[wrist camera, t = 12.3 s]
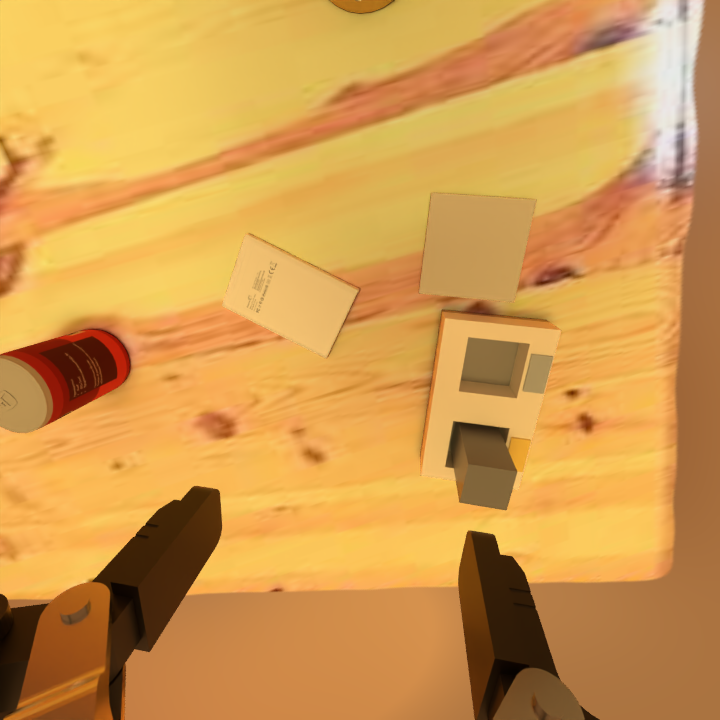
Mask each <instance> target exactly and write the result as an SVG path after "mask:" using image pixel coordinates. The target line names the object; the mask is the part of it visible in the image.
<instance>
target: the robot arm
mask: <svg viewBox="0 0 720 720" xmlns="http://www.w3.org/2000/svg"><path fill="white" fill-rule="evenodd" d="M330 1H331V2H332V3H334V4H335V5H336V6H337V7H340V8H342V9H344V10H346V11H349V12H356V13H365V12H373V11H375V10H378V9H380V8H383V7H385V6H386V5H388V4H389V3H390V2H392V1H393V0H330ZM221 531H222V517H221V503H220V492H219V490H218V489H213V488H206V487H200V486H194V487H192V488H191V489H190V490H189V492H188V493H187V494H186V495H185V496H184V497H183V498H182V500H181V501H179V500H173V501H172V502H170V503H168V504H167V505H165V506H164V507H162V508H160V509H159V510H158V511H157V512H156V513H155V514H154V515H153V516H152V517H151V518H150V519H149V520H148V521H147V523H146V525H145V526H143V527H142V528H141V529H140V530H139V531H138V532H137V533H136V536H135V537H133V538H132V539H131V540H130V541H129V542H128V543H127V544H126V545H125V546H124V548H123V549H122V550H121V551H120V552H119V553H118V554H117V555H116V556H115V557H114V558H113V559H112V561H111V562H110V563H109V564H108V565H107V566H106V567H105V568H104V569H103V570H102V571H101V573H100V574H99V575H98V576H97V577H96V578H95V579H94V580H93V581H92V582H89V583H83V584H80V585H77V586H74V587H72V588H70V589H68V590H66V591H65V592H63V593H61V594H60V595H59V596H57V597H56V598H55V599H54V600H52V601H51V602H50V603H48V604H41V605H33V606H25V607H18V608H10V606H9V603H8V600H7V598H6V597H5V596H4V595H2V594H0V720H125V686H126V664H125V662H126V661H127V659H128V658H129V656H130V655H131V653H132V652H133V650H134V649H137V650H142V651H147V652H150V651H151V649H152V648H153V645H154V644H155V643H156V641H157V640H158V638H159V636H160V634H161V633H162V632H163V630H164V628H165V627H166V625H167V624H168V622H169V621H170V619H171V617H172V616H173V614H174V613H175V611H176V609H177V608H178V606H179V605H180V603H181V601H182V600H183V598H184V597H185V595H186V594H187V592H188V590H189V589H190V587H191V586H192V584H193V582H194V581H195V579H196V578H197V576H198V574H199V573H200V571H201V570H202V568H203V567H204V565H205V563H206V562H207V560H208V559H209V557H210V555H211V554H212V552H213V551H214V549H215V547H216V546H217V544H218V541H219V539H220V536H221ZM458 586H459V595H460V604H461V612H462V620H463V628H464V636H465V644H466V652H467V660H468V668H469V677H470V684H471V693H472V700H473V709H474V717H475V720H599V719H598V718H596V717H594V716H593V715H591V714H590V713H589V712H587V711H586V710H585V709H584V708H583V707H581V706H580V705H579V703H578V701H577V699H576V698H575V696H574V695H573V693H572V692H571V691H570V689H568V687H567V686H566V685H565V684H564V683H563V682H562V681H561V680H560V678H559V676H558V673H557V671H556V668H555V665H554V662H553V659H552V656H551V653H550V650H549V647H548V644H547V640H546V638H545V634H544V631H543V628H542V625H541V622H540V619H539V616H538V613H537V610H536V609H535V603H534V600H533V597H532V595H531V593H530V592H531V591H530V588H529V585H528V582H527V579H526V575H525V573H524V572H523V570H522V569H521V567H520V566H519V565H518V563H517V562H516V561H515V559H514V558H513V557H512V556H506V555H500V552H499V548H498V545H497V541H496V538H495V536H494V535H493V534H488V533H482V532H476V531H470V530H469V531H468V532H467V535H466V540H465V544H464V549H463V553H462V558H461V562H460V567H459V577H458Z"/></svg>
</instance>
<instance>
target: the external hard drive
mask: <svg viewBox="0 0 720 720" xmlns="http://www.w3.org/2000/svg"><path fill="white" fill-rule="evenodd" d="M359 290H360V289H359V288H357V287H355V286H353V285H351V284H349V283H347V282H345V281H343V280H341V279H339V278H337V277H335V276H333V275H331V274H329V273H327V272H325V271H323V270H321V269H319V268H317V267H315V266H313V265H311V264H309V263H307V262H305V261H303V260H301V259H299V258H297V257H295V256H293V255H291V254H289V253H287V252H285V251H283V250H281V249H279V248H277V247H275V246H273V245H271V244H269V243H267V242H265V241H263V240H261V239H259V238H258V237H256V236H254V235H251V234H246V235H245V237H244V239H243V242H242V245H241V248H240V252H239V255H238V258H237V261H236V264H235V267H234V270H233V273H232V276H231V279H230V282H229V285H228V288H227V291H226V294H225V297H224V300H223V304H222V306H223V307H224V308H226V309H228V310H230V311H232V312H234V313H236V314H238V315H240V316H242V317H244V318H246V319H248V320H250V321H252V322H254V323H256V324H258V325H260V326H262V327H264V328H266V329H268V330H270V331H272V332H274V333H276V334H278V335H280V336H282V337H284V338H286V339H288V340H290V341H292V342H294V343H296V344H298V345H300V346H302V347H304V348H306V349H308V350H310V351H312V352H314V353H316V354H318V355H320V356H322V357H324V358H327V357H328V356H329V353H330V351H331V349H332V347H333V345H334V343H335V341H336V338H337V336H338V334H339V332H340V330H341V328H342V326H343V324H344V321H345V319H346V317H347V315H348V313H349V311H350V309H351V307H352V305H353V302H354V300H355V298H356V296H357V294H358V292H359Z"/></svg>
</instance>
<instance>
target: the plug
mask: <svg viewBox="0 0 720 720" xmlns="http://www.w3.org/2000/svg"><path fill="white" fill-rule="evenodd" d="M450 449H451V455H452V461H453V467H454V473H455V478H456V484H457V490H458V496H459V502H460V503H466V504H472V505H477V506H483V507H489V508H495V509H501V510H507V507H508V503H509V500H510V496H511V493H512V489H513V486H514V482H515V479H516V475H517V469H516V467H515V465H514V462H513V460H512V458H511V456H510V453H509V451H508V449H507V446H506V444H505V442H504V439H503V437H502V435H501V432H500V430H499V428H498V427H496V426H488V425H480V424H473V423H465V422H457V421H455V425H454V430H453V435H452V439H451V444H450Z"/></svg>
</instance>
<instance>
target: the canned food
mask: <svg viewBox="0 0 720 720" xmlns="http://www.w3.org/2000/svg"><path fill="white" fill-rule="evenodd" d="M129 369H130V361H129V357H128V354H127V352H126V350H125V348H124V347H123V345H122V344H121V343H120V342H119V340H118V339H116V338H115V337H114V336H112V335H111V334H109V333H107V332H104V331H101V330H82V331H79V332H75V333H72V334H68V335H65V336H62V337H58V338H55V339H51V340H48V341H44V342H41V343H37V344H34V345H31V346H27V347H24V348H20V349H17V350H13V351H10V352H6V353H3V354H0V426H1V427H3V428H5V429H7V430H10V431H12V432H17V433H28V432H32V431H34V430H37V429H40V428H42V427H44V426H45V425H47V424H50V423H52V422H54V421H55V420H57V419H59V418H61V417H63V416H65V415H67V414H69V413H71V412H72V411H74V410H76V409H78V408H80V407H82V406H84V405H86V404H87V403H89V402H91V401H93V400H95V399H97V398H99V397H101V396H103V395H104V394H106V393H108V392H110V391H112V390H114V389H116V388H117V387H119V386H120V385H121V384H122V383H123V382H124V381H125V379H126V378H127V376H128V373H129Z"/></svg>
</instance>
